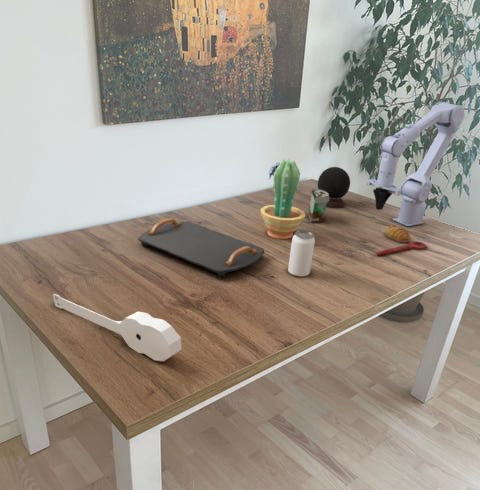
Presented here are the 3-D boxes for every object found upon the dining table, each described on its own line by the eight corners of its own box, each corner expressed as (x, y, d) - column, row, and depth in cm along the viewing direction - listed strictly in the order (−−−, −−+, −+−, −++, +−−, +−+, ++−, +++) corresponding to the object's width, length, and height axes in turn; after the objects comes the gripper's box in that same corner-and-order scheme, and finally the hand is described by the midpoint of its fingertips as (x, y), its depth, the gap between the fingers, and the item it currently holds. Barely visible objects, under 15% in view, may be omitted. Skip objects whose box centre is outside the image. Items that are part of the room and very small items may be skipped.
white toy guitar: (70, 308, 120) (56, 314, 117) (65, 278, 116) (50, 284, 113) (184, 358, 100) (170, 367, 97) (182, 325, 96) (168, 333, 94)
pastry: (414, 242, 170) (417, 232, 168) (399, 244, 167) (402, 234, 165) (396, 232, 177) (398, 223, 175) (381, 235, 174) (384, 225, 172)
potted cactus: (291, 224, 176) (300, 155, 164) (309, 241, 164) (321, 167, 151) (251, 226, 171) (258, 155, 159) (267, 243, 159) (275, 167, 146)
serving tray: (272, 260, 148) (274, 241, 145) (226, 285, 131) (227, 264, 128) (180, 226, 167) (180, 209, 164) (129, 244, 150) (128, 225, 147)
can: (295, 278, 138) (301, 239, 132) (283, 269, 143) (288, 231, 137) (314, 275, 141) (320, 237, 135) (301, 266, 146) (307, 229, 140)
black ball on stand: (349, 202, 205) (356, 166, 198) (342, 210, 194) (348, 173, 187) (319, 196, 209) (325, 161, 202) (310, 204, 199) (316, 168, 191)
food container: (327, 225, 179) (332, 199, 174) (311, 224, 178) (315, 197, 173) (323, 214, 189) (327, 189, 184) (308, 212, 189) (311, 187, 184)
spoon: (417, 242, 170) (418, 238, 169) (429, 248, 166) (430, 244, 165) (371, 253, 159) (372, 248, 158) (382, 259, 155) (383, 254, 154)
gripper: (364, 168, 174) (357, 204, 181) (395, 178, 164) (386, 216, 170) (378, 166, 177) (370, 202, 184) (408, 176, 167) (399, 214, 174)
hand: (379, 209), depth 178 cm, fingers closed
